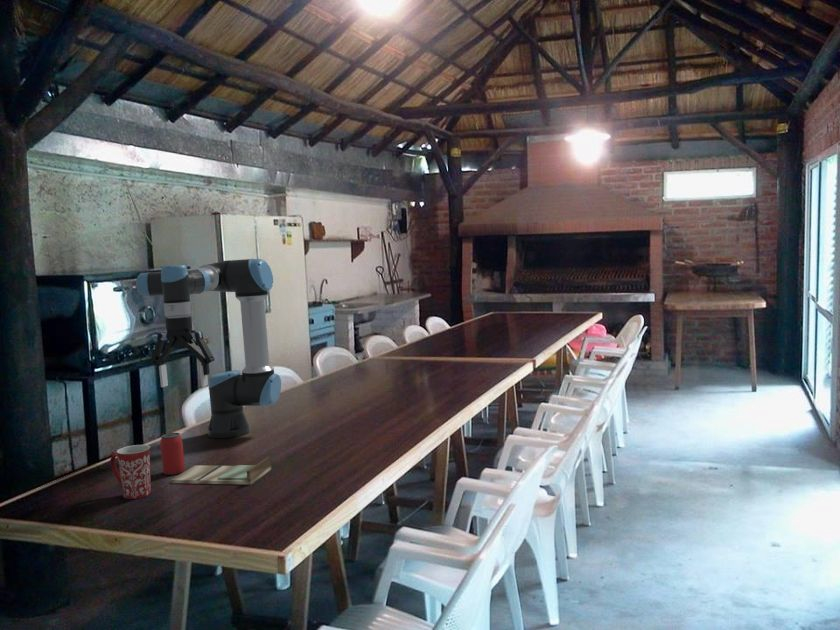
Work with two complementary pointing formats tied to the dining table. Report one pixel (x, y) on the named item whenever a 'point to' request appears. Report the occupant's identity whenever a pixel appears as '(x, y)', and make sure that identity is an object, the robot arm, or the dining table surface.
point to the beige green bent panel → (224, 474)
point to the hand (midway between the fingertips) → (184, 386)
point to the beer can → (172, 454)
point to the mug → (133, 470)
